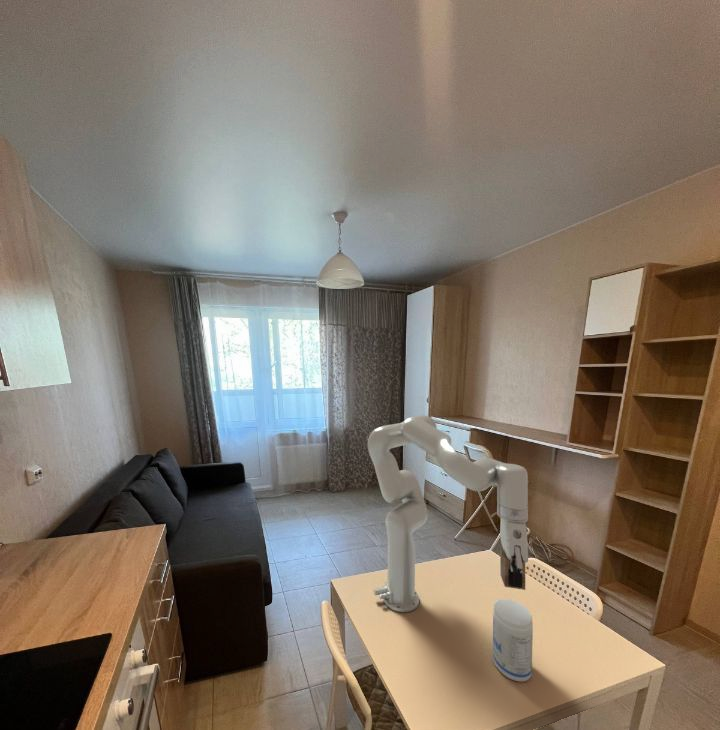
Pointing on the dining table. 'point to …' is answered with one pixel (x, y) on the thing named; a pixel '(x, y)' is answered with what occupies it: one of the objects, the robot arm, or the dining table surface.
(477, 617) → the dining table surface
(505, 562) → the walnut block
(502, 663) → the supplement tub
